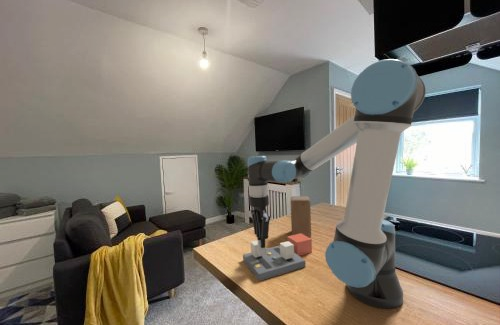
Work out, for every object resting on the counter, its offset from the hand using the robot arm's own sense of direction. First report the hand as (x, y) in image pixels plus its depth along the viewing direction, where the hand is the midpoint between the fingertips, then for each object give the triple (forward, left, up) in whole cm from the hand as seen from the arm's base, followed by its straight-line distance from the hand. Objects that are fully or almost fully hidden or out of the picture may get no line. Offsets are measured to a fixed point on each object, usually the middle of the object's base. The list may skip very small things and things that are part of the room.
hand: (262, 254), depth 82 cm
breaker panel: (0, -5, -5) cm, 7 cm away
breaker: (-3, -10, -2) cm, 10 cm away
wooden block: (+19, -33, -5) cm, 38 cm away
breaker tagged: (+4, 0, -2) cm, 5 cm away
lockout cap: (+4, -21, -5) cm, 22 cm away
